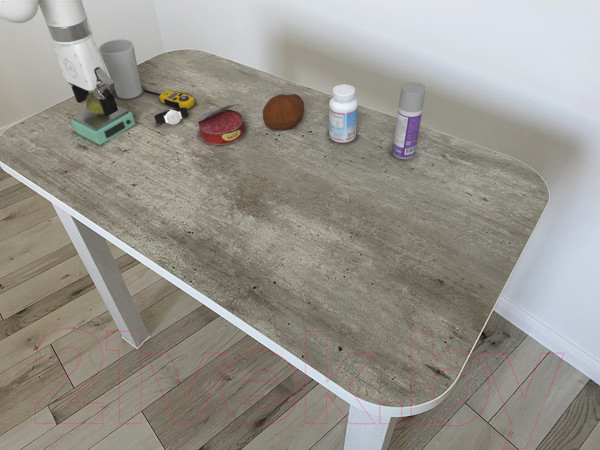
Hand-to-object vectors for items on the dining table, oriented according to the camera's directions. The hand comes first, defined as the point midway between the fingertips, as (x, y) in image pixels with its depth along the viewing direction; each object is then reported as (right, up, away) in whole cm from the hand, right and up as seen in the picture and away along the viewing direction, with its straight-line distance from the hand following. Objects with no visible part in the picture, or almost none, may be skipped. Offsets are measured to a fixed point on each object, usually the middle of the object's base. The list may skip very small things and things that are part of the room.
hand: (97, 106), depth 107 cm
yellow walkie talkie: (+12, +5, +13) cm, 18 cm away
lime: (0, -1, +2) cm, 2 cm away
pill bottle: (+54, -7, 0) cm, 55 cm away
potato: (+41, -4, +3) cm, 42 cm away
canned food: (+27, -6, +2) cm, 28 cm away
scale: (0, -4, +4) cm, 6 cm away
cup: (+2, +7, +16) cm, 17 cm away
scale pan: (0, -2, +2) cm, 3 cm away
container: (+67, -11, -5) cm, 68 cm away
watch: (+15, -2, +6) cm, 16 cm away
